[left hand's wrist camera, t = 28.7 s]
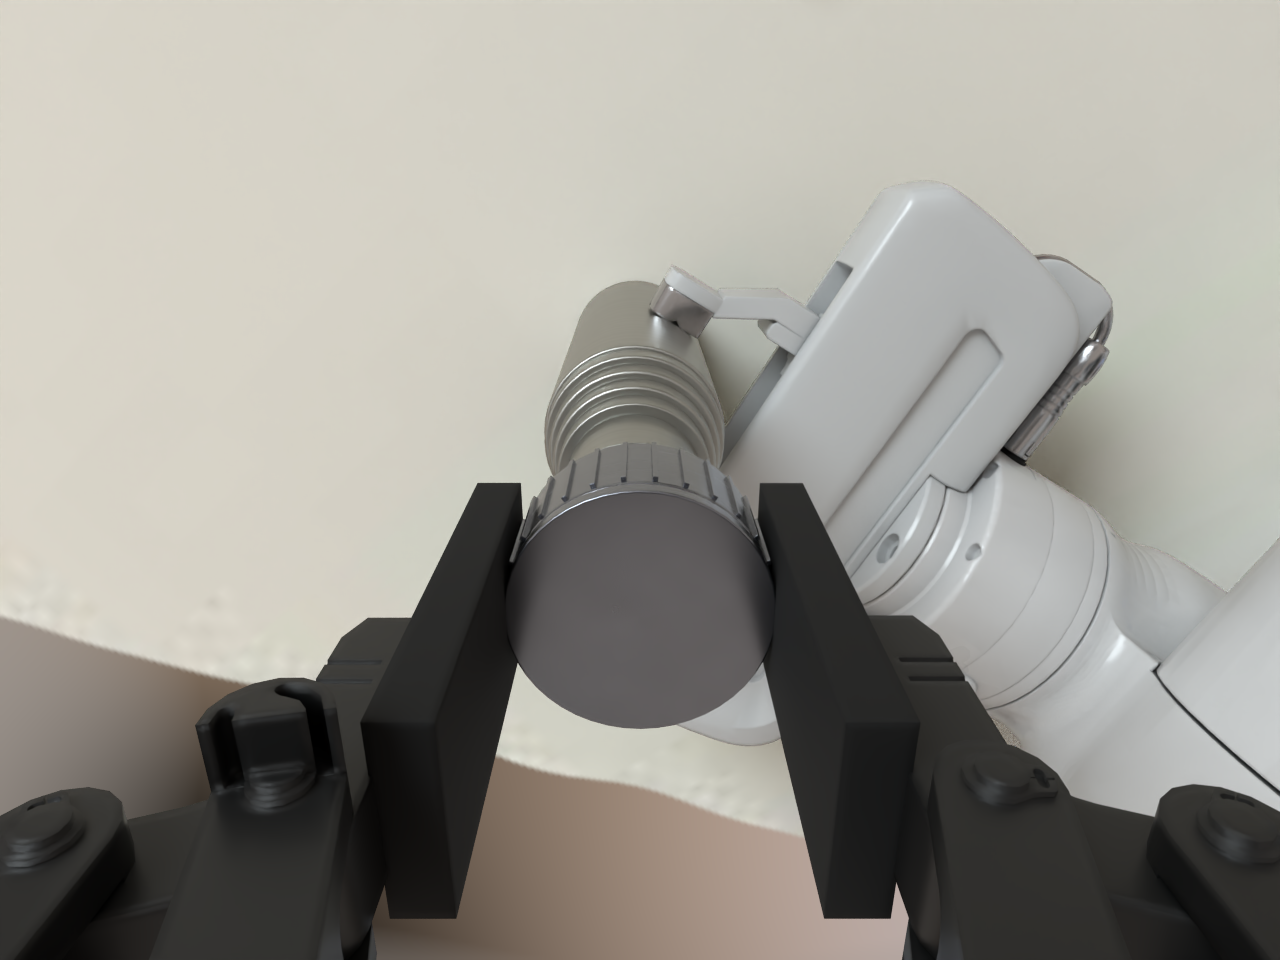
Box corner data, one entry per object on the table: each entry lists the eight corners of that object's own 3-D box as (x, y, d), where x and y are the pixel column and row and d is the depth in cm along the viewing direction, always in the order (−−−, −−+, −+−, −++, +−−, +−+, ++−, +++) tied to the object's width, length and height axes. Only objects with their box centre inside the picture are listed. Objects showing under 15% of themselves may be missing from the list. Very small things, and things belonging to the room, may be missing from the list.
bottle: (637, 254, 32) (638, 360, 15) (718, 343, 33) (805, 534, 16) (551, 338, 33) (461, 525, 16) (632, 421, 35) (630, 676, 18)
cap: (525, 657, 16) (508, 732, 14) (511, 439, 14) (489, 488, 12) (755, 656, 16) (772, 731, 14) (767, 438, 14) (789, 486, 12)
